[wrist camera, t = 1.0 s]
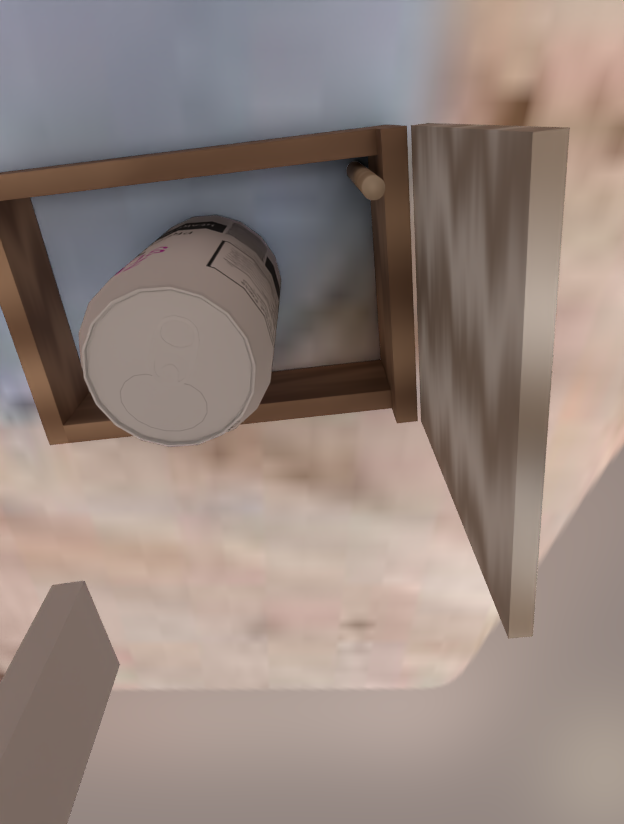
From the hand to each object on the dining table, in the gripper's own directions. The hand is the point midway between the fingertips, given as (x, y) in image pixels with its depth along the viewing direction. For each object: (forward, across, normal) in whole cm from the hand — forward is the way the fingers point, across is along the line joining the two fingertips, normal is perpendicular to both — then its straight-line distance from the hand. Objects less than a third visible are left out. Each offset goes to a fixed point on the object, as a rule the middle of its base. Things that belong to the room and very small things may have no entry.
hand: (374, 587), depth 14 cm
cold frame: (+27, -7, +2) cm, 28 cm away
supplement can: (+27, -7, +2) cm, 28 cm away
